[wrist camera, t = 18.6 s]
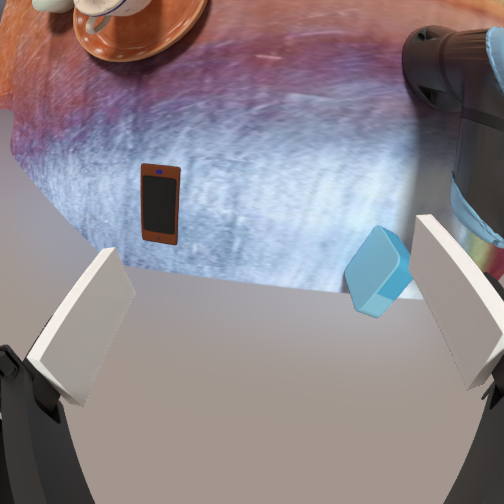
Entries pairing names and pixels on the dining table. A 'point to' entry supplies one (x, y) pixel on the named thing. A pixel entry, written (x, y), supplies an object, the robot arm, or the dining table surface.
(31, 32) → the dining table surface
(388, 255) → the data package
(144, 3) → the teacup with lid
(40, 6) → the sugar bowl
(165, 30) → the saucer
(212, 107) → the dining table surface
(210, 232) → the dining table surface
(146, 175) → the smartphone
